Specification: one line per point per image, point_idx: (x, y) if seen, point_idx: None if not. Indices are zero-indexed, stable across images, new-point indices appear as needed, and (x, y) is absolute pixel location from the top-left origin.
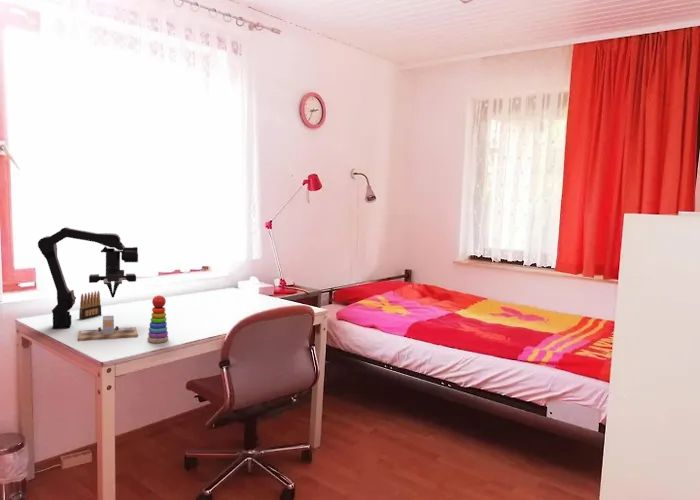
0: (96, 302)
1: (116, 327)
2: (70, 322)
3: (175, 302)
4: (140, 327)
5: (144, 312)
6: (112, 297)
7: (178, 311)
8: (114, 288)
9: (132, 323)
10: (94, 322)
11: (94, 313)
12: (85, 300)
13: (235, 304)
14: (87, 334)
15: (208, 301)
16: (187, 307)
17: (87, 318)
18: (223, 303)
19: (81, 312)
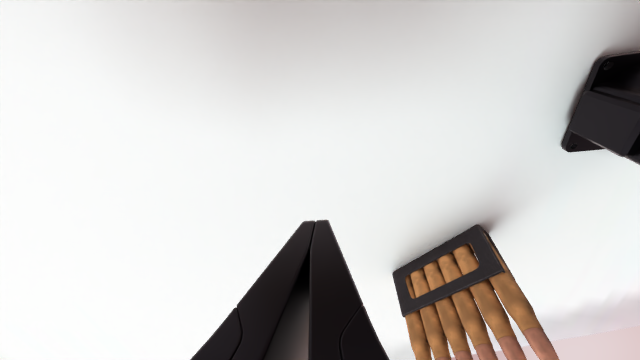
0: (428, 325)
1: None
2: (605, 94)
3: (189, 352)
4: (155, 27)
5: (241, 284)
6: (320, 220)
7: (129, 281)
8: (250, 352)
9: (235, 133)
10: (426, 175)
11: (423, 273)
12: (505, 327)
13: (7, 319)
14: None
15: (105, 348)
16: (127, 313)
17: (451, 239)
18: (50, 330)
19: (496, 256)
